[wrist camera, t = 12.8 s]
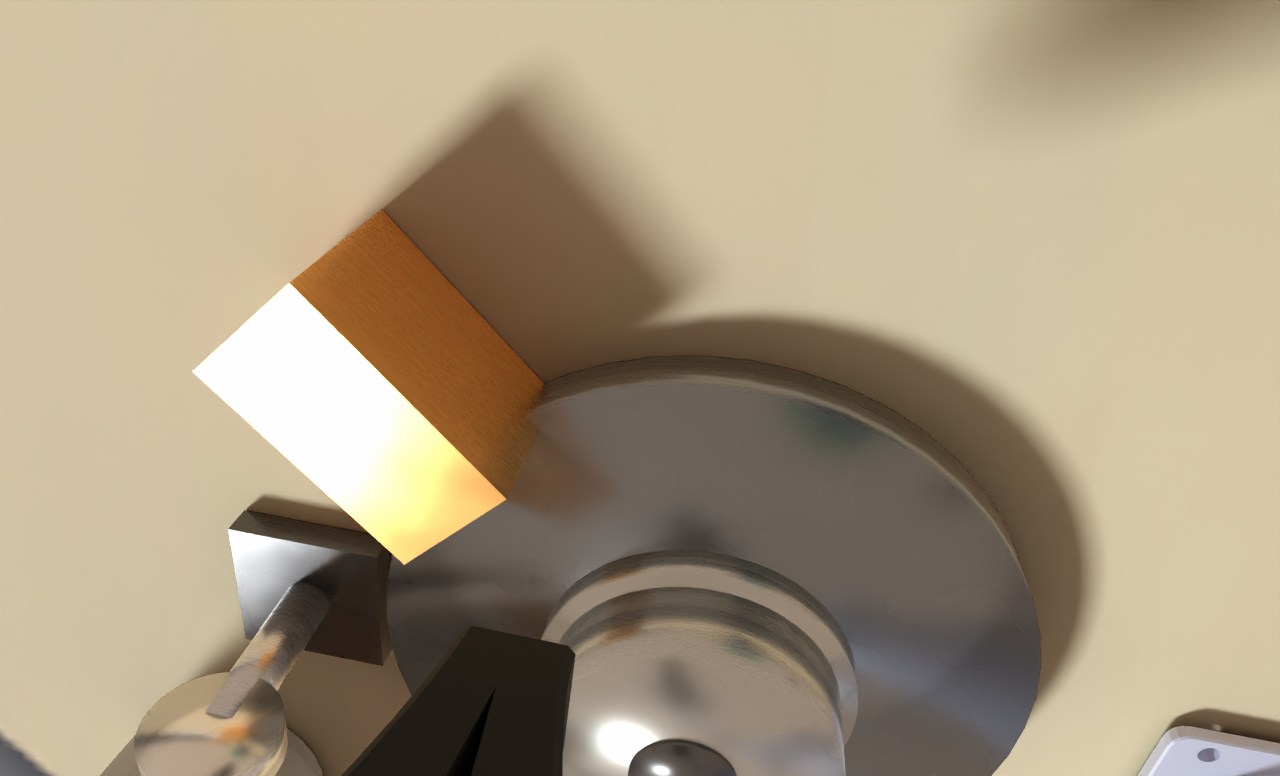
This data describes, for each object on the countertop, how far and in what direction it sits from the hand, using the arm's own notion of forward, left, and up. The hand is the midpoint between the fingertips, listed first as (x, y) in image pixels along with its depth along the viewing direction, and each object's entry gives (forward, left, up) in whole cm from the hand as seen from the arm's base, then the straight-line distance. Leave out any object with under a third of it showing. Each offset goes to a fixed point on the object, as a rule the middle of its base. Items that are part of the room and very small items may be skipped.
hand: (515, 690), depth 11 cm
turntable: (-1, +6, -10) cm, 11 cm away
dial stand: (+8, +9, -10) cm, 15 cm away
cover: (-3, +8, -8) cm, 12 cm away
